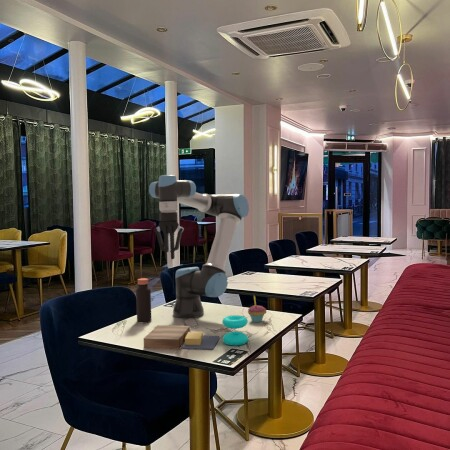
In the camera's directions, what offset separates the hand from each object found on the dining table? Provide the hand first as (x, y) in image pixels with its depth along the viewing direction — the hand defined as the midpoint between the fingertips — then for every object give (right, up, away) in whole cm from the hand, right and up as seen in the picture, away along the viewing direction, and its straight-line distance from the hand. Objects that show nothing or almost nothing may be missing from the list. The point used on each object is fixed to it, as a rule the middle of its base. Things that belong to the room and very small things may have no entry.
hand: (170, 266), depth 197 cm
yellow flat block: (+11, -29, -13) cm, 33 cm away
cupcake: (+38, -27, +17) cm, 50 cm away
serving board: (0, -29, -11) cm, 31 cm away
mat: (+14, -29, -14) cm, 35 cm away
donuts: (+28, -29, -14) cm, 42 cm away
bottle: (-15, -28, +20) cm, 37 cm away
